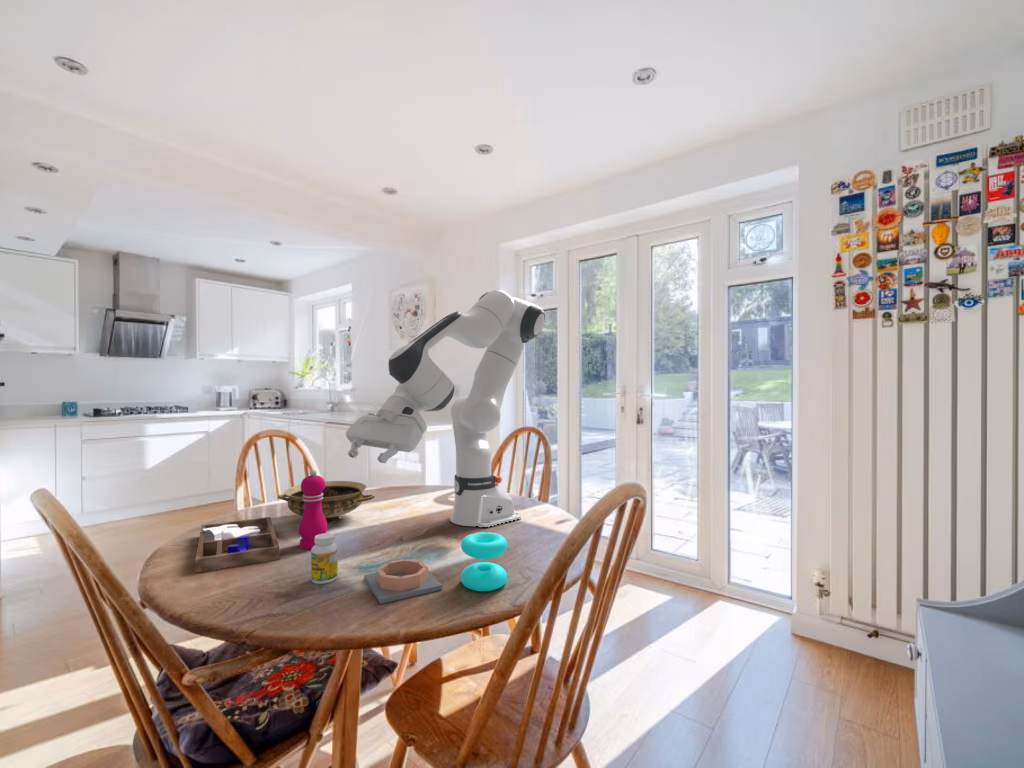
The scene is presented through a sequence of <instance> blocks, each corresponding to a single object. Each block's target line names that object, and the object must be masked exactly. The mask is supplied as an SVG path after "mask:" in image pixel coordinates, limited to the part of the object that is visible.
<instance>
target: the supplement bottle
mask: <svg viewBox="0 0 1024 768" xmlns="http://www.w3.org/2000/svg"><path fill="white" fill-rule="evenodd" d="M314 542H315V544H316V545H314V546H313V547H312V549H310V550H311V551H310V556H311V558H310V561H311V562H310V563H311V564H310V565H311V566H310V567H311V569H310V570H311V573H310V574H311V575H310V576H311V577H310V578H311V582H312V583H314V584H316V585H322V584H330V583H332V582H334V581H336V580H337V578H338V576H339V575H338V570H339V569H338V561H339V559H338V553H339V552H338V550H339V549H338V545H337V544H336V543H335V534H334V533H331V532H326V533H323V534H319V535H316V536H315V541H314Z"/></svg>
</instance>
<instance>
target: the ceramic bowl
mask: <svg viewBox="0 0 1024 768" xmlns="http://www.w3.org/2000/svg"><path fill="white" fill-rule="evenodd" d="M324 481H325V480H324ZM366 489H367V485H366V484H364V483H361V482H359V481H358V482H357V481H351V480H350V481H349V480H329V481H328V480H327V481H325V488H324V490H323V491H322V493H323V499H322V501H321V507H322V512H323V514H324V517H325V519H326V522H327V524H332V523H335V521H336V522H338V521H340V520H341V517H340V516H344V515H347V514H348V513H351V512H352V511H355V510H357V508H359V506H361V504H362V503H363V502H367V501H371V500H372V499H374V498H375V497H376V495H375V494H373V493H372V494H363V492H364V491H365V490H366ZM303 495H304V493H303V492H302V490H301V483H300V484H297V485H293V486H291V487H289V488H287V489H285V490H284V491H283V493H282V494H278V495H277V499H280V500H282V501H285V502H287V507H288V509H289V510H290V511H291V512H292V513H293V514H295V515H297V516H301V517H302V516H303V513H304V507H305V503H304V501H303ZM339 519H340V520H339Z"/></svg>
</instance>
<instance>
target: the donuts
mask: <svg viewBox="0 0 1024 768" xmlns="http://www.w3.org/2000/svg"><path fill="white" fill-rule="evenodd" d="M507 548H508V541H507V539H506V538H505V537H504V536H503V535H501V534H499V533H495V532H492V531H490V532H489V531H480V532H474V533H471V534H470V533H469V534H468V535H466V536H464V537H463V538H462V540H461V542H460V549H461V550H462V552H463V553H464V554H465V555H467V556H468V557H471V558H473V559H478V560H490V559H495V558H497V557H499V556H501V555H502V554H504V553H505V552H506V550H507ZM460 580H461V583H462V585H463V586H464V587H465V588H467V589H469V590H471V591H476V592H491V591H495V590H497V589H498V590H499V589H500V588H502V587H503V586H504V585H505V584H506V582H507V580H508V575H507V572H506V570H505V569H504V567H502V566H501V565H499V564H498V563H493V562H490V561H479V562H474V563H472V564H469V565H467V566H466V567H465V568H463V570H462V571H461V574H460Z"/></svg>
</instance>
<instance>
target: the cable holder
mask: <svg viewBox="0 0 1024 768" xmlns="http://www.w3.org/2000/svg"><path fill="white" fill-rule="evenodd" d="M247 550H250V548H249V536H240V537H238V543H237V544H234V545H229V546H228V551H227V554H228V553H234V552H241V551H247Z"/></svg>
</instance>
